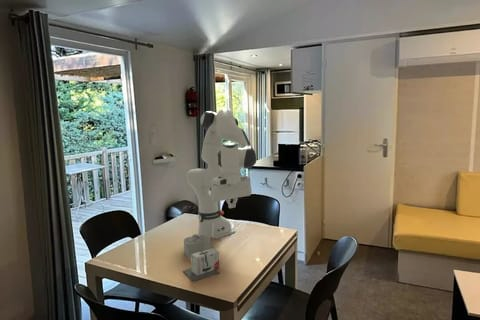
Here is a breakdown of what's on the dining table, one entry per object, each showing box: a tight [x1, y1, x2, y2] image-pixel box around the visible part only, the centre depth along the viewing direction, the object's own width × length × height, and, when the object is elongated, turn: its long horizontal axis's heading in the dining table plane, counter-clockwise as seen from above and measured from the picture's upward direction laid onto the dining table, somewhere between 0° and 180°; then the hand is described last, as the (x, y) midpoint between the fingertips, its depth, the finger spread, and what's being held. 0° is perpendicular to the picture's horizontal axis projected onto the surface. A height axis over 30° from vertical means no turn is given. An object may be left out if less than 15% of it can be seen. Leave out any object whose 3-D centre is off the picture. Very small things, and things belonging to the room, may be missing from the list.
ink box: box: [190, 247, 220, 276], centre depth 153 cm, size 8×5×12 cm
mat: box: [182, 267, 221, 282], centre depth 153 cm, size 13×11×1 cm
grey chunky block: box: [183, 233, 211, 259], centre depth 174 cm, size 10×13×9 cm
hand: (232, 207), depth 158 cm, fingers closed
